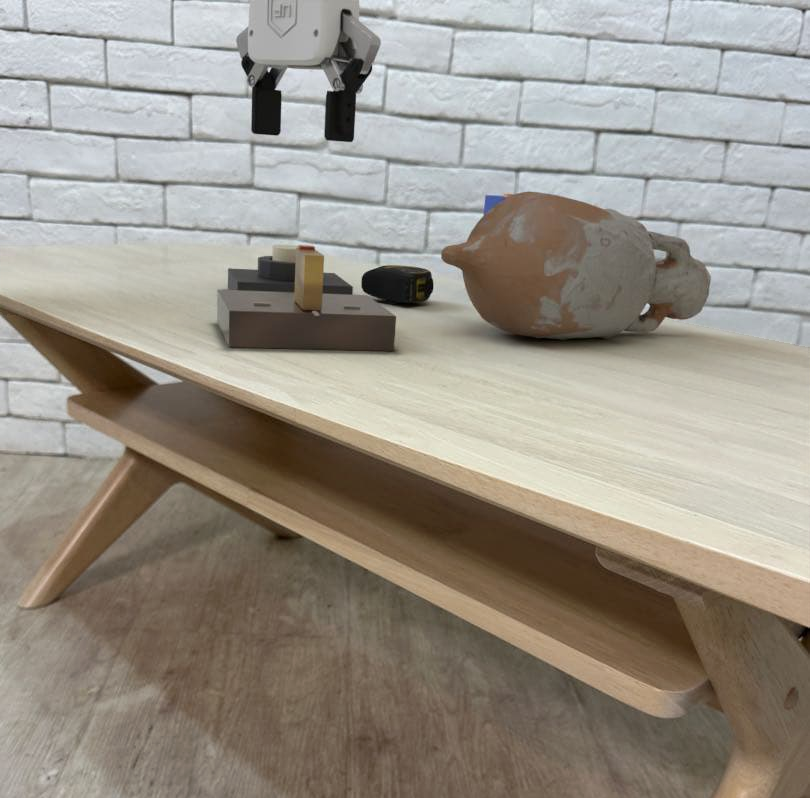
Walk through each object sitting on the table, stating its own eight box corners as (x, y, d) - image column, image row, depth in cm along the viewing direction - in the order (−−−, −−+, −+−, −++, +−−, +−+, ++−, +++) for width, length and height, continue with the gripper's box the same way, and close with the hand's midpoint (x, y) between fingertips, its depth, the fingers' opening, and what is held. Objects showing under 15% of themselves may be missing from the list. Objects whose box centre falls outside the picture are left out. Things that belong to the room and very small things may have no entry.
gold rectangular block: (321, 311, 83) (324, 252, 82) (302, 310, 83) (305, 251, 81) (312, 301, 88) (314, 245, 86) (294, 300, 87) (295, 244, 86)
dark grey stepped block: (237, 303, 102) (237, 263, 100) (227, 288, 111) (228, 251, 109) (351, 307, 105) (354, 268, 104) (333, 292, 114) (335, 256, 112)
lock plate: (230, 350, 81) (230, 311, 79) (217, 322, 91) (217, 287, 90) (397, 354, 84) (399, 316, 83) (365, 327, 95) (367, 293, 94)
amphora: (405, 188, 91) (668, 146, 101) (407, 350, 100) (647, 295, 111) (481, 235, 81) (764, 182, 91) (475, 409, 90) (732, 343, 101)
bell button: (274, 265, 104) (275, 247, 104) (270, 260, 108) (270, 244, 107) (308, 266, 105) (309, 249, 105) (303, 262, 109) (303, 245, 108)
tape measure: (356, 300, 110) (358, 265, 108) (397, 296, 115) (399, 263, 113) (404, 310, 106) (406, 274, 105) (443, 305, 111) (446, 271, 110)
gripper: (209, -79, 88) (209, 130, 94) (351, -93, 78) (340, 141, 84) (273, -62, 93) (268, 134, 100) (413, -73, 83) (398, 146, 90)
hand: (301, 137), depth 92 cm, fingers open, 9 cm apart
